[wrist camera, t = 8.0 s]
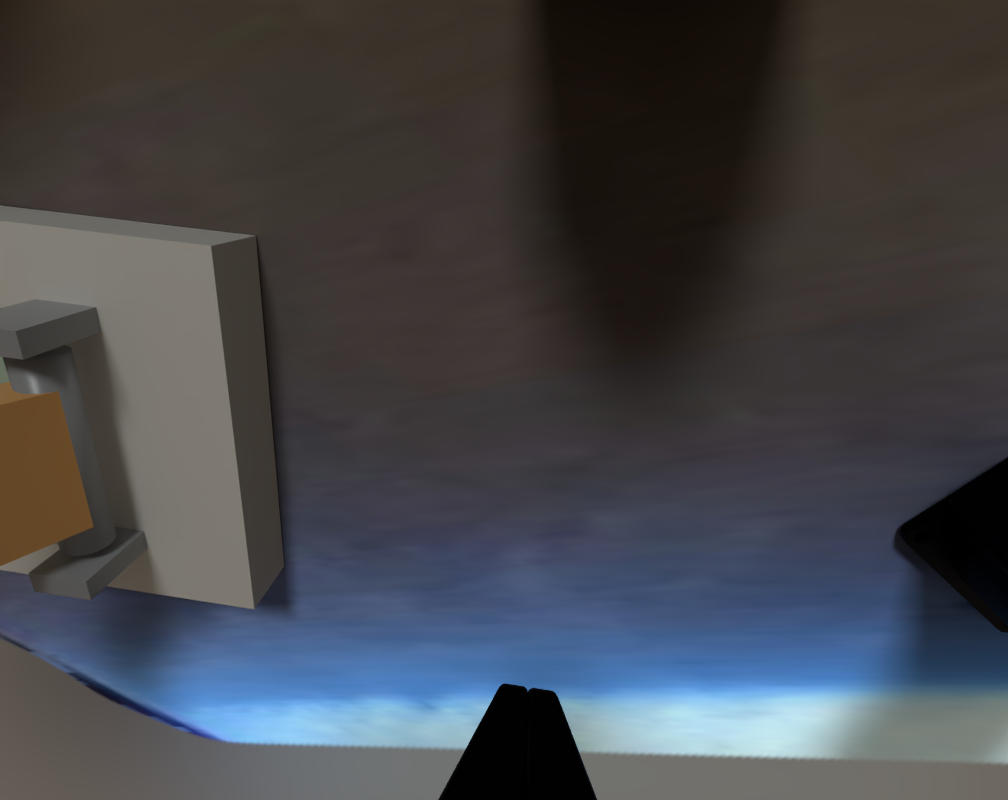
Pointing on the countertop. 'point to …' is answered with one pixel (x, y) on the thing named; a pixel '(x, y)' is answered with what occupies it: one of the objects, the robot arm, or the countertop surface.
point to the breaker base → (154, 398)
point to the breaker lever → (49, 462)
